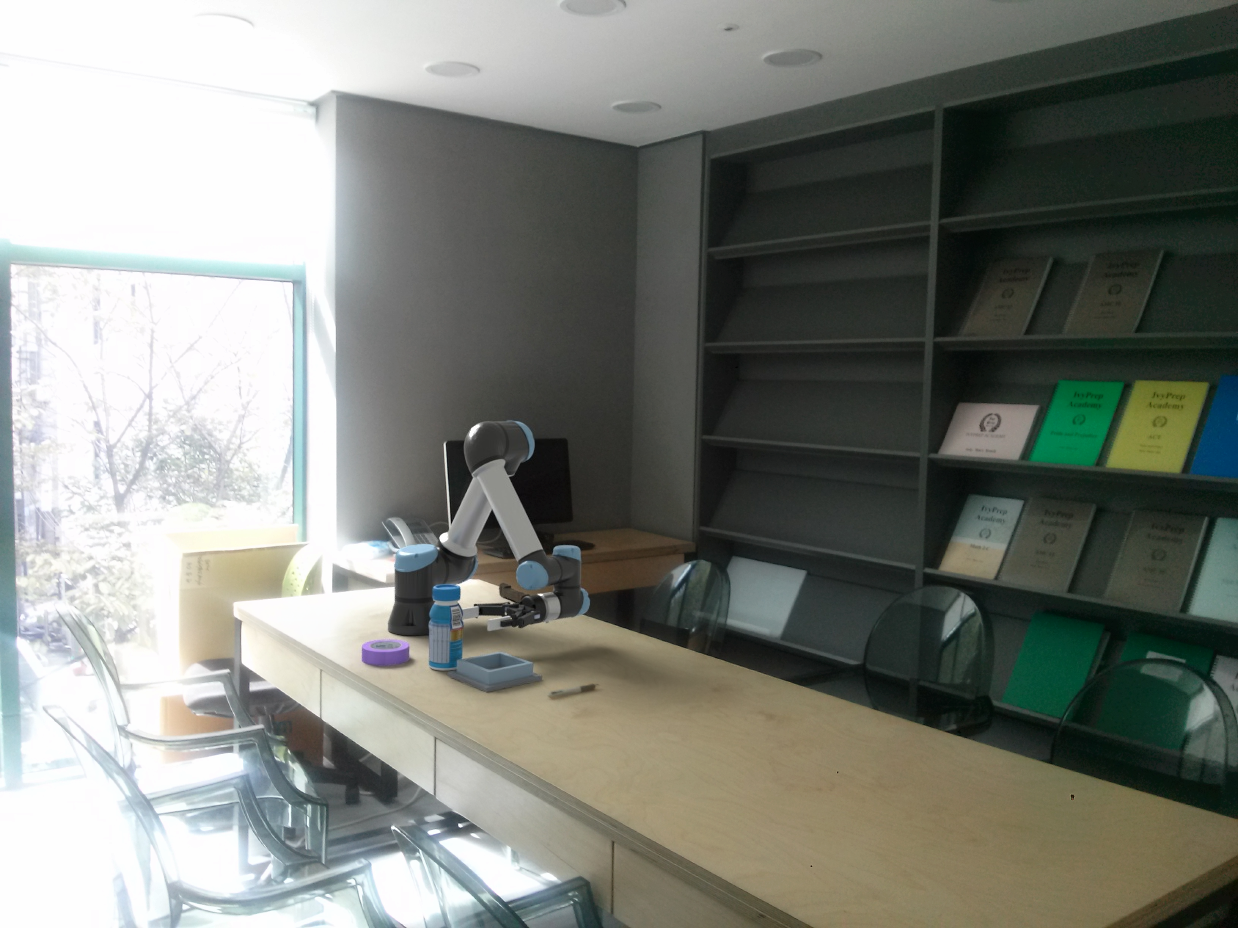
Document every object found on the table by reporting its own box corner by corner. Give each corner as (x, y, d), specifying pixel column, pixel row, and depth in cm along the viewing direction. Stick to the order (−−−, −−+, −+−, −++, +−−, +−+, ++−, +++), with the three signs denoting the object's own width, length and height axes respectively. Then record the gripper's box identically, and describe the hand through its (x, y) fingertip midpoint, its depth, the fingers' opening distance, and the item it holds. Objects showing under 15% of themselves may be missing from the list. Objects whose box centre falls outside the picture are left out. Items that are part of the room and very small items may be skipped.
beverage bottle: (428, 672, 245) (429, 590, 243) (427, 662, 253) (429, 583, 251) (463, 671, 246) (465, 589, 245) (462, 661, 254) (463, 582, 253)
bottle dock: (447, 675, 242) (447, 659, 241) (502, 664, 253) (502, 649, 252) (486, 692, 230) (486, 674, 230) (542, 679, 241) (542, 663, 241)
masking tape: (416, 662, 253) (416, 647, 253) (370, 668, 247) (370, 653, 247) (399, 651, 263) (399, 637, 263) (355, 657, 257) (355, 642, 257)
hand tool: (532, 606, 321) (532, 591, 321) (521, 607, 319) (521, 592, 319) (507, 595, 337) (507, 581, 337) (496, 596, 335) (496, 582, 335)
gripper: (569, 631, 259) (502, 645, 244) (509, 613, 277) (444, 625, 263) (569, 602, 258) (502, 614, 244) (510, 586, 276) (444, 596, 262)
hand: (472, 620), depth 253 cm, fingers open, 13 cm apart
